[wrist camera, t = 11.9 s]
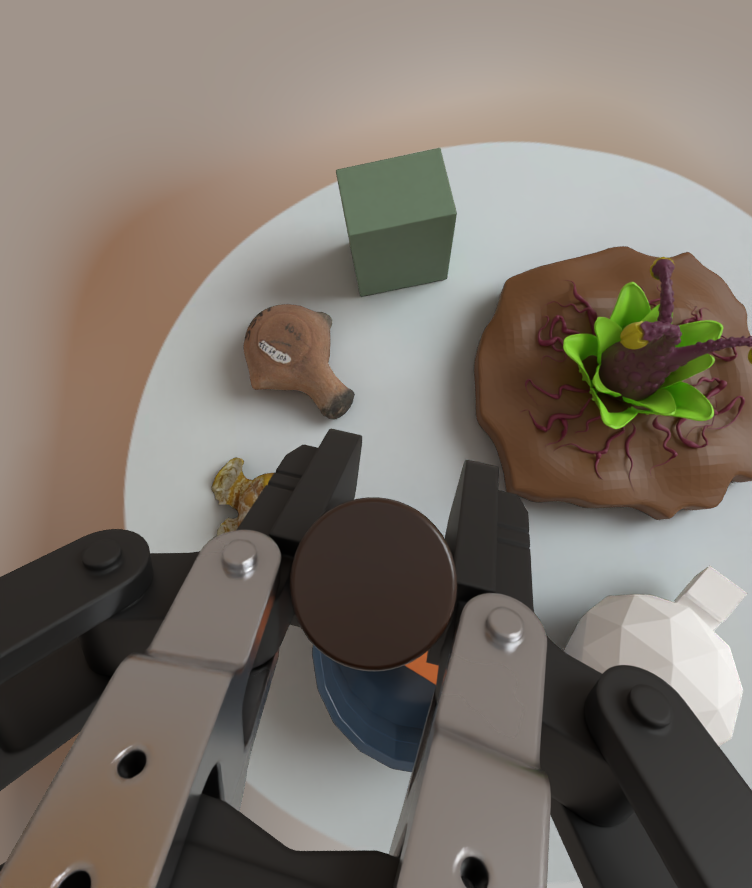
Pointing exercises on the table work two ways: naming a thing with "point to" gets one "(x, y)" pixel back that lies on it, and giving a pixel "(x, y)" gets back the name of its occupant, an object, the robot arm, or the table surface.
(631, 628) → the perfume bottle
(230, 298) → the table surface
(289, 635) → the table surface
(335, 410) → the oil lamp
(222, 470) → the fruit
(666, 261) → the plant
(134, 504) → the table surface
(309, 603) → the brown cylindrical peg
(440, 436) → the table surface
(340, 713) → the bowl
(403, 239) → the stand
